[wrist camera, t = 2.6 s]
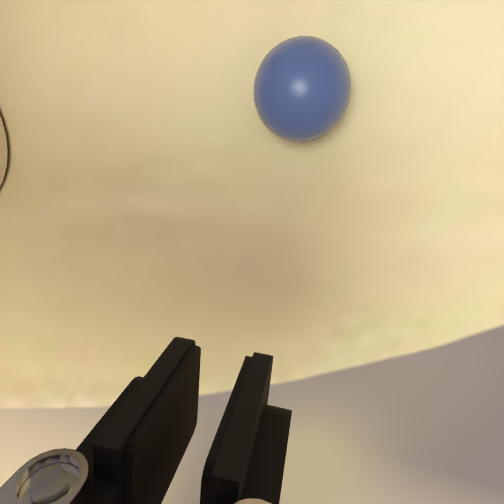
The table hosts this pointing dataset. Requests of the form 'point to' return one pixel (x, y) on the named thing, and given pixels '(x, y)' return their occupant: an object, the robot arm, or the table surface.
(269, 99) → the blue ball
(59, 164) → the table surface
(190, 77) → the table surface
